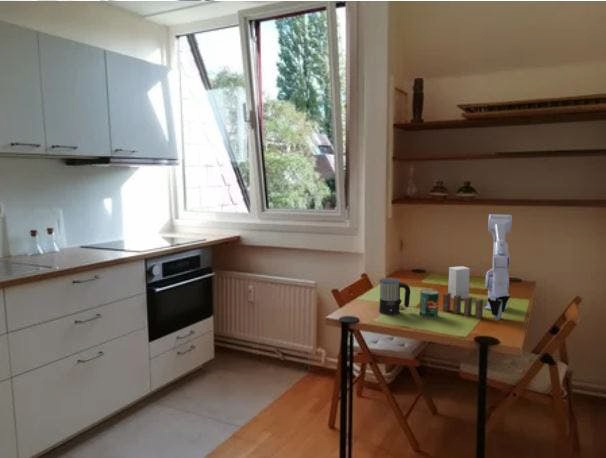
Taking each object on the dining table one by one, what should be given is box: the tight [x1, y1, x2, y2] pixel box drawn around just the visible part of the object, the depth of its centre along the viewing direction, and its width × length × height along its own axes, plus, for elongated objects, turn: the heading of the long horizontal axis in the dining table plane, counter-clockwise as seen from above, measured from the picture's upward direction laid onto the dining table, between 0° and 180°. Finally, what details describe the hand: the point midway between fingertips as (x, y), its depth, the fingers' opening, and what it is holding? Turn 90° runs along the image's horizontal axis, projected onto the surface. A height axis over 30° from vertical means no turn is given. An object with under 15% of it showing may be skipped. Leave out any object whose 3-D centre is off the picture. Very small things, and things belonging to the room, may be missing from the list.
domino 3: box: [463, 296, 473, 317], centre depth 201 cm, size 4×2×8 cm, turn 136°
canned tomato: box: [418, 288, 440, 319], centre depth 200 cm, size 8×8×11 cm
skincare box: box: [447, 265, 471, 300], centre depth 229 cm, size 8×7×16 cm
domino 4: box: [474, 298, 484, 320], centre depth 197 cm, size 4×2×8 cm, turn 136°
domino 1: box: [442, 291, 452, 313], centre depth 208 cm, size 4×2×8 cm, turn 136°
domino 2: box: [452, 295, 462, 315], centre depth 204 cm, size 4×2×8 cm, turn 136°
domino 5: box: [493, 300, 503, 321], centre depth 196 cm, size 4×2×8 cm, turn 136°
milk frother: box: [378, 277, 411, 316], centre depth 208 cm, size 14×16×15 cm
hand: (498, 313), depth 196 cm, fingers open, 7 cm apart
